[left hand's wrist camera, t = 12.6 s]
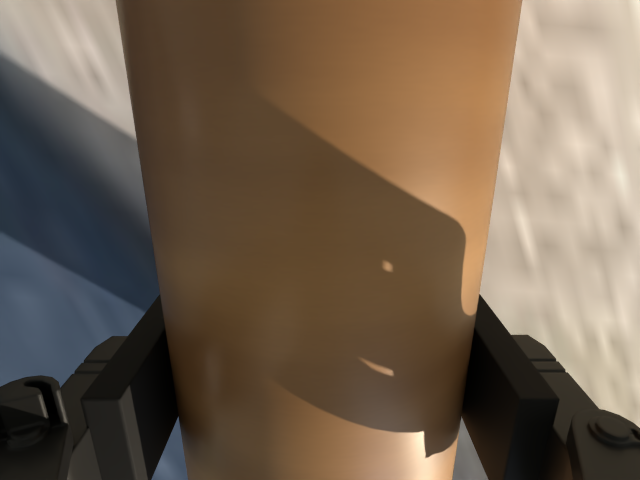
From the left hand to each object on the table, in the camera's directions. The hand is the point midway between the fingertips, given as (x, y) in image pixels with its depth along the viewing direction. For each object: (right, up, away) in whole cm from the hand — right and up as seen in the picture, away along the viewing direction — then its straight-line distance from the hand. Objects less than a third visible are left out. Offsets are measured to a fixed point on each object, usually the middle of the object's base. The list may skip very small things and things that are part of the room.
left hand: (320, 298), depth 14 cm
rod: (0, +9, -3) cm, 10 cm away
